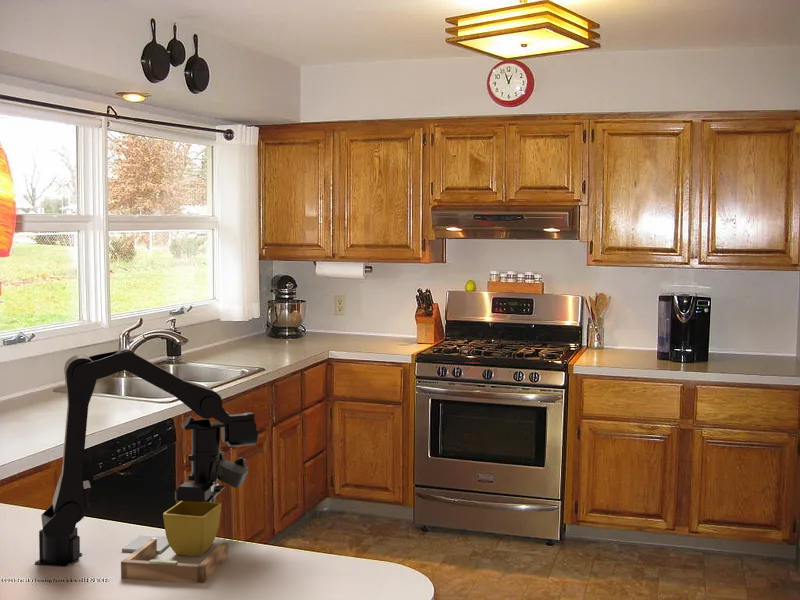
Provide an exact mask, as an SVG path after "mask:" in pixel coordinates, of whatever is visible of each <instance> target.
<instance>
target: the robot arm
mask: <svg viewBox="0 0 800 600" xmlns="http://www.w3.org/2000/svg"><path fill="white" fill-rule="evenodd" d="M124 371H126V372H128V373H129V374H132V375H135V376H136V377H138V378H140V379H142V380H143V381H146V382H147V383H149V384H151V385H153V386H154V387H157V388H158V389H161V390H162V391H164V392H166V393H167V394H170V395H171V396H174V398H176V399H178V400H179V401H180V402H181V403H183V404H184V405H185V406H186V407H188V408H189V409H190V410H191V411H192V412H194V413H195V414H197V415H198V416H199V417H200V419H199V418H198V419H194V418H193V417H192V416H191V415H189V416H188V418H187V419H186V420H185V421H183V422H182V423H181V427H182V428H183V429H184V431H187V430H188V431H189V430H190V431H191V454H189V455H188V456H187V457H188V458H187V459H188V461H190V462H191V473H190V474H189V475H187V476H188V479H187V480H188V481H185V482H183V483H182V484H180V485H179V486H178V487H177V488H176V489H175V490H174V501H176V502H180V501H189V502H215V503H216V497H217V496H218V495H219V493H221V492H222V491H223V490H224V489H225V487H226V486H224V485H219V482H218V481H221V482H223V483H225V484H227V485H230V487H232V488H235V489H238V488H240V486H241V485H243V484H244V482H245V479H246V478H247V475H248V474H249V467H248V463H247V459H246V458H243V457H241V456H240V457H239V458H238V457H237V459H236V460H235V461H233V460H232V459H231V460H228V459H226V457H225V456H226V455H225V452H224V451H221V441H222V443H226V445H227V447H228V448H233V447H244V446H253V445H256V444H257V443H258V439H259V438H258V436H259V435H258V434H259V431H258V429H257V423H256V420H255V414H254V413H253V412H251V411H249V412H244V413H238V414H237V413H236V414H235V413H234V414H233V413H232V414H230V413H229V412H228V411H227V410H225V409H224V406H223V399H222V396H221V395H220V394H218V393H217V391H215V390H214V389H212V388H211V387H209V386H205V385H203V384H200V383H196V382H194V381H193V382H192V381H188V380H185V379H182V378H180V377H179V376H177V375H175V374H173V373H171V372H169V371H168V370H166V369H164V368H162V367H161V366H158V365H157V364H155V363H153V362H152V361H149V360H147V358H144V357H143V356H141V355H139V354H137V353H135V352H134V351H133V350H132V349H130V348H127V347H122V348H119V349H118V350H114V351H109V352H104V353H98V354H94V355H91V356H87V355H85V354H75V355H73V356H71V357H70V358H68V360H66V361H65V365H64V367H63V372H64V373H63V374H64V381H65V383H64V384H65V390H66V398H67V399H66V400H67V406H66V407H67V408H66V419H65V430H64V431H65V432H64V440H63V442H64V443H63V453H62V454H63V455H62V465H61V472H60V476H59V479H58V481H57V485H56V488H55V491H54V495H53V497H52V503H51V505H50V506H48V508H47V509H46V510H45V511H44V512H42V514H41V517H40V518H41V525H42V529H40V530H39V531H38V547H39V550H38V552H39V553H38V554H39V555H38V556H39V557H38V558H39V559H38V560H36V561H35V562H34V565H35V566H44V567H46V566H47V567H60V568H61V567H62V568H63V567H64V568H65V567H68V566H69V565H70V564H73V562H75V561H76V560H78V559H79V558H81V557H82V556H83V553H82V552H81V546H80V545H81V536H79V535H78V527H77V524H78V523H80V521H82V520H83V519H84V518H85V515H86V513H87V510H90V509H91V507H90V504H89V502H90V501H89V499H90V496H91V493H92V492H91V491H92V486H91V483H90V480H83V479H84V478H83V473H84V472H83V470H84V462H85V461H84V458H85V447H86V437H87V424H88V414H89V405H90V402H91V400H92V399H91V398H92V397H93V393H94V390H95V386H96V384H97V380H100V379H103V378H107V377H109V376H112V375H114V374H115V375H116V374H117V373H120V372H124ZM211 418H212V419H214V420H216V421H214V422H213V421H212V422H211V421H210V419H211Z"/></svg>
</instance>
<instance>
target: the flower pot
mask: <svg viewBox="0 0 800 600" xmlns="http://www.w3.org/2000/svg"><path fill="white" fill-rule="evenodd" d="M221 510H222V503H221V502H216V501H215V502H189V501H178V503H176V504H175V505H174V506H172V507H170V508H169V509H167V510H166V511H164V512H163V514H162V517H163V518H162V519H163V525H164V526H163V527H164V530H165V531H164V532H165V537H167V540H168V543H169V545H170V546H169V547H170V548H171V550H172V551H173V553H175V555H178V556H188V557H189V556H190V557H201V556H203V554H204V553H206V552H207V551H208V550H209V549H210V548H211V546H212V544H213V543H214V541H215V539H216V537H217V534H218V531H219V527H220V520H221V519H220V518H221Z"/></svg>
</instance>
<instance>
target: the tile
mask: <svg viewBox="0 0 800 600" xmlns="http://www.w3.org/2000/svg"><path fill="white" fill-rule="evenodd" d="M150 539H157V554H158V555H160V554H161V553H163V552H164V551H165V550H166V549H168V547H170V545H169V543H168V540H167V537H166V536H161V535H160V536H158V535H157V536H156V535H138V536H137V537H136V538H134V539H133V540H131V541H130V542H129V543H127V544H126V545H124V546H123V547H122V548H121V552H122V553H123V552H124V553H133V552H134V551H136V550H137V549H138V548H139V547H141V546H142V545H143V544H145V543H146V542H147V541H148V540H150ZM157 554H156V555H157Z"/></svg>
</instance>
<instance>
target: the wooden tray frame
mask: <svg viewBox="0 0 800 600" xmlns="http://www.w3.org/2000/svg"><path fill="white" fill-rule="evenodd" d="M228 544H229V543H228V542H221V543H220V544H219V545H218V546H217V547H216V548H215V549H214V550H213V551H212V552H211V553H209V555H207V557H205V559H204V560H203V561H201V563H199V564H198V563H185V562H184V563H183V562H178V560H168V559H167V560H166V559H165V560H164V559H154V557H155V556H156V555H157V539H150V540H148V541H147V542H146V543H145V544H143V545H142V546H141V547H139V548H138V549H137V550H136V551H134V552H131V553H130V554H129V555H128V556H126V557H125V558H124V559H123V560H121V561H120V578H121V579H129V580H130V579H132V580H144V581H145V580H148V581H160V582H162V581H163V582H179V583H194V582H195V583H199V584H204V583H206V581H208V579H209V578H210V575H211V574H212V573H213V574H214V572H216V570H217V569H218V568H219V567H220V566H221V565H222V564H223V563H224V562H225V561H226V559H228V554H229V553H228V552H229V551H228V550H229V549H228V547H229V545H228ZM152 558H153V559H152ZM224 560H225V561H224ZM223 561H224V562H223ZM222 562H223V563H222ZM221 563H222V564H221ZM220 564H221V565H220ZM219 565H220V566H219ZM218 566H219V567H218ZM216 568H217V569H216ZM213 574H212V575H213ZM212 575H211V576H212Z"/></svg>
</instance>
